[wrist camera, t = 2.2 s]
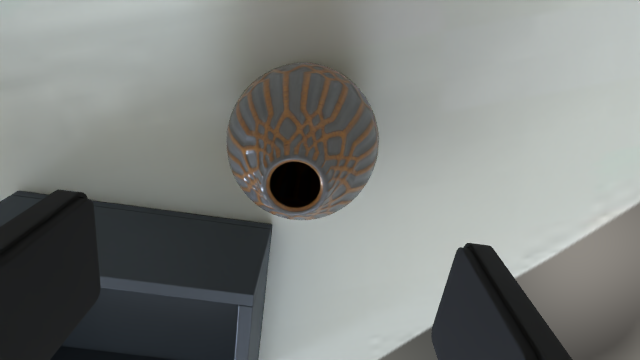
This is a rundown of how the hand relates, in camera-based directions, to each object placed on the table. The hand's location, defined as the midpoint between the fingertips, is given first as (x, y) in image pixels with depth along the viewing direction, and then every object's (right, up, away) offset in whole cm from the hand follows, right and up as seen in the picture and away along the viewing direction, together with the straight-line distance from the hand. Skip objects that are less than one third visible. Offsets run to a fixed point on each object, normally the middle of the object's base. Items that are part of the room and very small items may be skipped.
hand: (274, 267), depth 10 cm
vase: (0, +6, +12) cm, 13 cm away
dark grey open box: (-10, -5, +17) cm, 20 cm away
